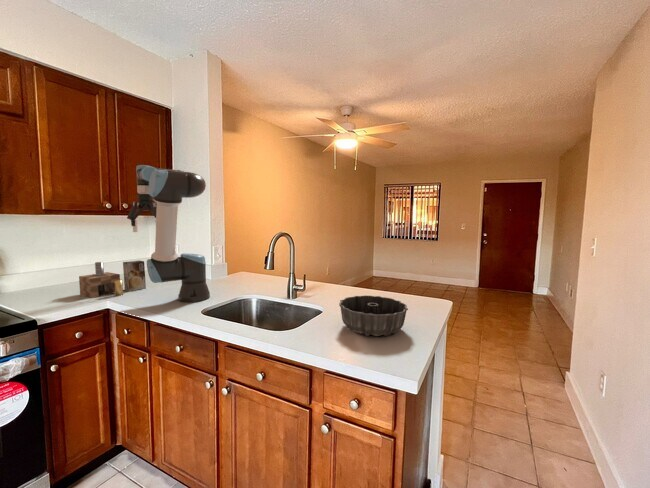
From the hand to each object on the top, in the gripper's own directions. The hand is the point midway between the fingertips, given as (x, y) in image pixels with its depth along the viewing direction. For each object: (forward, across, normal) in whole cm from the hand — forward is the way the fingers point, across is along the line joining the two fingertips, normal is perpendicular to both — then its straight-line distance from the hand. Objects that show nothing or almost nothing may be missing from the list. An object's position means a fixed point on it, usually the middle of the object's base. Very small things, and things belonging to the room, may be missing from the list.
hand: (147, 231), depth 176 cm
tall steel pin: (+33, +18, -15) cm, 40 cm away
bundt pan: (+36, 0, +132) cm, 137 cm away
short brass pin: (+33, +16, -2) cm, 37 cm away
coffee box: (+33, +3, -8) cm, 34 cm away
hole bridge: (+33, +18, -15) cm, 40 cm away
